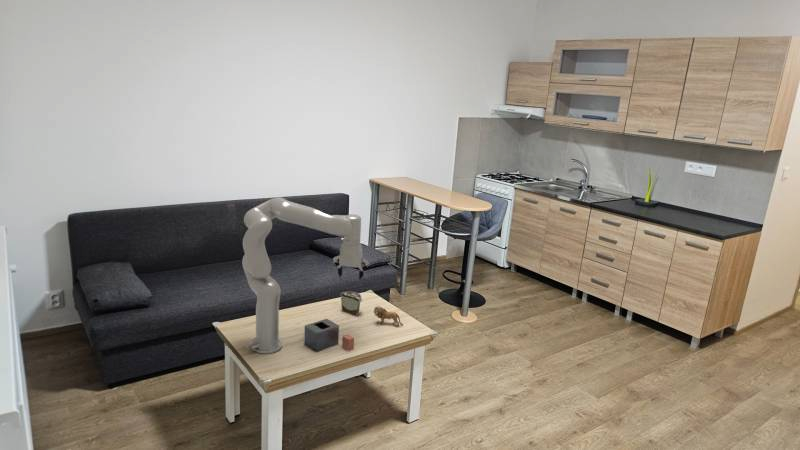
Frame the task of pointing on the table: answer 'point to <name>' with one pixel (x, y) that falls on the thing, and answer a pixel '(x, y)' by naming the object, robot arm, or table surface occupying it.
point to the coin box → (321, 335)
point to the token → (348, 342)
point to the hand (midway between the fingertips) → (350, 277)
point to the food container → (350, 302)
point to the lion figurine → (386, 315)
